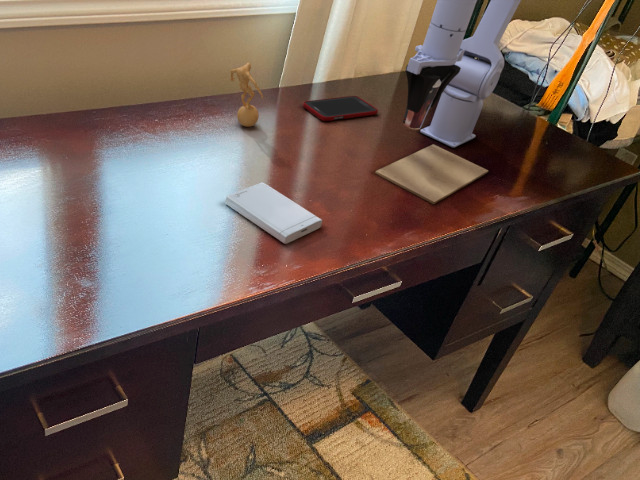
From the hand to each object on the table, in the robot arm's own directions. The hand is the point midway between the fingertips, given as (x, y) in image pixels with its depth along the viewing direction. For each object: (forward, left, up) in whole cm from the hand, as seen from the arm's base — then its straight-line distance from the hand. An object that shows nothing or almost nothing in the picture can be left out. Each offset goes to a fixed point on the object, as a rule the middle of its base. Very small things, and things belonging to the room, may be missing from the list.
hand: (420, 107), depth 105 cm
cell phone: (-7, -20, -10) cm, 24 cm away
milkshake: (0, 0, -4) cm, 4 cm away
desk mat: (-1, +6, -10) cm, 12 cm away
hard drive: (+35, -1, -10) cm, 36 cm away
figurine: (+17, -25, -10) cm, 32 cm away
